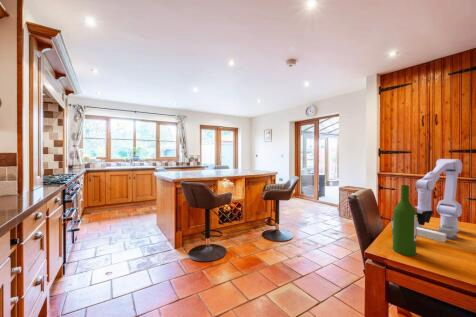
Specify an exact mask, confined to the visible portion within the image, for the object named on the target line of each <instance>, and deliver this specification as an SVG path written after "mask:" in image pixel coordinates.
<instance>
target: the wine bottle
mask: <svg viewBox="0 0 476 317" xmlns="http://www.w3.org/2000/svg"><path fill="white" fill-rule="evenodd" d="M400 186H401V187H400V188H401V190H400V191H401V192H400V201H398V203H396V204H397V205H395V207H394V208H393V212H392V213H393V214H392V218H393V235H392V250H393V251H394V252H395V253H396V254H400V255H402V256H406V257H414V256H416V255H417V235H416V234H417V213H416V211H417V210H416V209H415V207H414V206H413V205H412V203H411V202H410V185H407V184H401V185H400Z"/></svg>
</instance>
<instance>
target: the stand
mask: <svg viewBox="0 0 476 317" xmlns="http://www.w3.org/2000/svg"><path fill="white" fill-rule="evenodd" d="M417 227H419V228H424V229H428V230H432V231H437V232H441V233H445V234H446V240H451V241H455V240H456V239H458V234H457V233H458V232H457V227H452V226H447V225H442V227H440V226H438V228H439V229H431V228H429V227H428V228H427V227H423V225H419V223H418V219H417ZM456 232H457V233H456Z"/></svg>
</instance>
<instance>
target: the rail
mask: <svg viewBox="0 0 476 317" xmlns="http://www.w3.org/2000/svg"><path fill="white" fill-rule="evenodd" d="M424 228H425V227H424ZM424 228H419V227H417V234H416V236H418V237H419V236H420V237H422V238H426V239H430V240H434V241H438V242H442V243H445V242H446V241H447V239H446V234H445V233H441V232H437V231H438V230H437V231H432V230H428V229H429V228H428V229H424Z"/></svg>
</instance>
